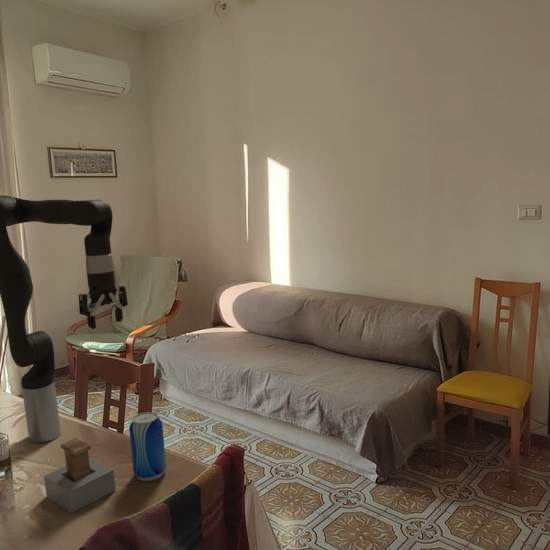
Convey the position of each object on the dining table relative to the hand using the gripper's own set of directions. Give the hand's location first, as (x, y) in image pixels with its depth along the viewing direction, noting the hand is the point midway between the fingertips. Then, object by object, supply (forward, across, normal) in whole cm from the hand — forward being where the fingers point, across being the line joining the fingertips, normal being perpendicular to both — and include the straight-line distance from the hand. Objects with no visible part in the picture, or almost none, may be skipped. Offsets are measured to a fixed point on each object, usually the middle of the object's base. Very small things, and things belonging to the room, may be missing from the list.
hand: (106, 324), depth 155 cm
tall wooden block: (+35, +22, +17) cm, 45 cm away
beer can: (+36, +6, +24) cm, 44 cm away
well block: (+36, +22, +17) cm, 46 cm away
